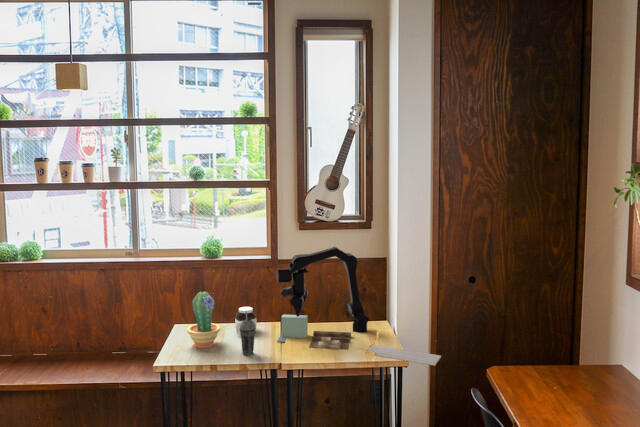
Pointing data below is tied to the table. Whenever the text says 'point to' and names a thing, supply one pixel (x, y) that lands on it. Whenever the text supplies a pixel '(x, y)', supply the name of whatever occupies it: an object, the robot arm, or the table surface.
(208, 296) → the potted cactus
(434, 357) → the baseboard molding
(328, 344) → the offcut stack
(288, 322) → the tall board
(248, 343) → the beverage cup
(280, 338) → the rubber mat
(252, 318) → the spread jar
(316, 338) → the board rack
